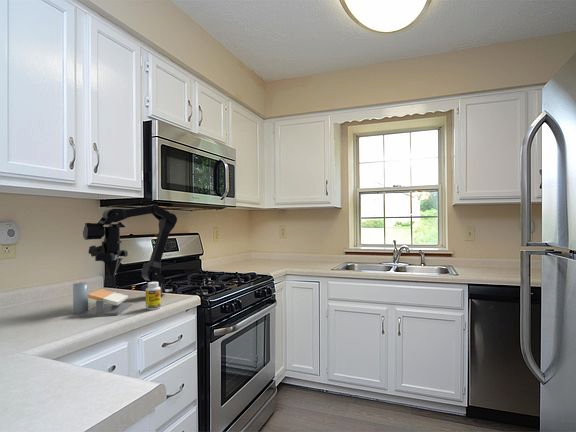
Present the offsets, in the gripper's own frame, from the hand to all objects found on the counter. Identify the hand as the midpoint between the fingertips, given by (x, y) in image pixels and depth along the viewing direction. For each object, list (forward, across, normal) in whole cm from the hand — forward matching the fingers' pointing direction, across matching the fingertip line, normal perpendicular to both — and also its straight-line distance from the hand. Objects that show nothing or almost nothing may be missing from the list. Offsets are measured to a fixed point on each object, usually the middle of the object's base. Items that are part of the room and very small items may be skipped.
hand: (112, 275), depth 141 cm
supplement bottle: (+12, +10, +19) cm, 25 cm away
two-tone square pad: (+8, +10, +2) cm, 13 cm away
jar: (+12, +10, -8) cm, 18 cm away
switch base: (+12, +10, +2) cm, 16 cm away
